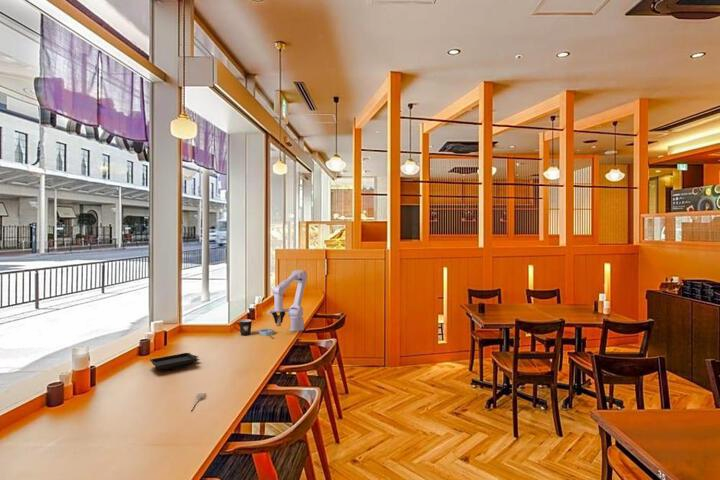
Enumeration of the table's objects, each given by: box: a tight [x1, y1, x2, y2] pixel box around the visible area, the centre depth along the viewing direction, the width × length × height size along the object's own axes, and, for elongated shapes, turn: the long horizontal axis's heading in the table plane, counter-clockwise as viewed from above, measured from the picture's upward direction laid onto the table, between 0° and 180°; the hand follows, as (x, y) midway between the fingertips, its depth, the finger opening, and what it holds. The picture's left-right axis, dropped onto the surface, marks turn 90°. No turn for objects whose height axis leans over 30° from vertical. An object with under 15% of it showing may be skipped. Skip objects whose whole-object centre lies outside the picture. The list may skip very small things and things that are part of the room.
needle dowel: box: [275, 314, 282, 327], centre depth 292 cm, size 3×3×7 cm
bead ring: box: [258, 328, 275, 337], centre depth 297 cm, size 10×10×2 cm
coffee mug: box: [233, 318, 253, 337], centre depth 294 cm, size 12×9×10 cm
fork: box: [194, 392, 207, 405], centre depth 180 cm, size 3×21×3 cm, turn 2°
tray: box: [149, 352, 199, 371], centre depth 227 cm, size 30×23×5 cm
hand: (278, 322), depth 292 cm, fingers closed on needle dowel, 3 cm apart
